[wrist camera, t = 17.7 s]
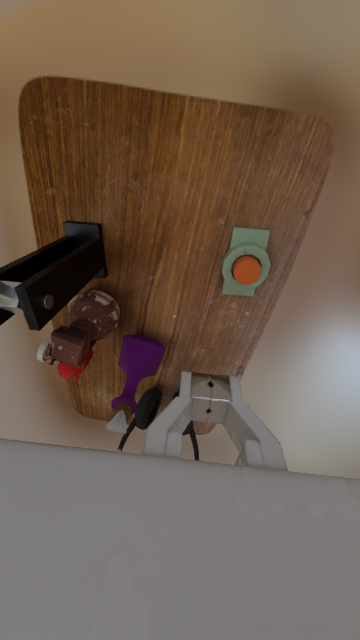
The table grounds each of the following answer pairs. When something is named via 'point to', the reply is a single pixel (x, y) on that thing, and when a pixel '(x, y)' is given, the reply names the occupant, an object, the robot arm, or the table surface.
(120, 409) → the perfume bottle
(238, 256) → the button box
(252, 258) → the button
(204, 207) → the table surface
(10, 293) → the lever
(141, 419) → the headphones
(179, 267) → the table surface
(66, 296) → the bracket
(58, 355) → the chocolate birthday cake
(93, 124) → the table surface
